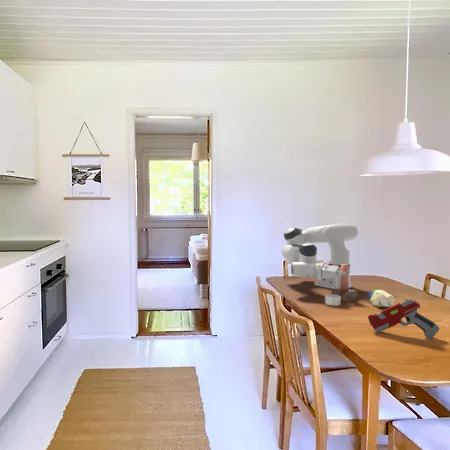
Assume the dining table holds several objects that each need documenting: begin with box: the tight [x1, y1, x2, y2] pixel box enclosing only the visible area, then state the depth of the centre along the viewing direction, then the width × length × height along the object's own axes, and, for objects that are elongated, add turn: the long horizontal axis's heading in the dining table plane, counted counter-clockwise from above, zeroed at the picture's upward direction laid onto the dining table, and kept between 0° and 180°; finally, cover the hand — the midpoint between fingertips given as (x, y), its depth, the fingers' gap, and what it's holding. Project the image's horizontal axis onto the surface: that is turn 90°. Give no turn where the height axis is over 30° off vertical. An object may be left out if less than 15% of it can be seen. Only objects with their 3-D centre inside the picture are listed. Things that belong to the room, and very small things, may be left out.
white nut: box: [324, 293, 342, 307], centre depth 214 cm, size 7×7×5 cm
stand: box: [331, 288, 358, 303], centre depth 224 cm, size 10×10×5 cm
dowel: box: [340, 264, 349, 291], centre depth 224 cm, size 4×4×14 cm
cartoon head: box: [366, 288, 396, 308], centre depth 211 cm, size 9×10×20 cm
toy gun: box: [367, 298, 440, 340], centre depth 167 cm, size 4×22×18 cm
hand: (346, 272), depth 223 cm, fingers open, 4 cm apart
